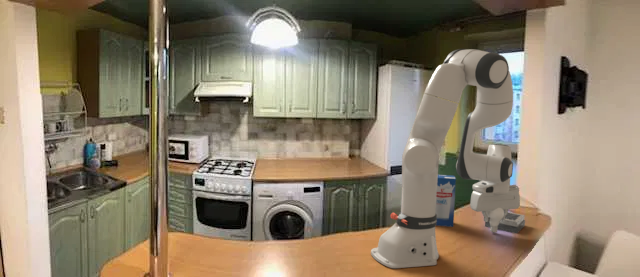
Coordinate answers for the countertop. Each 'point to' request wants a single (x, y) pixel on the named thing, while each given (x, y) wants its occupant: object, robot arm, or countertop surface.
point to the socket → (511, 223)
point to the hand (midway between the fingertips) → (494, 220)
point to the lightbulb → (495, 218)
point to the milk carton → (445, 200)
